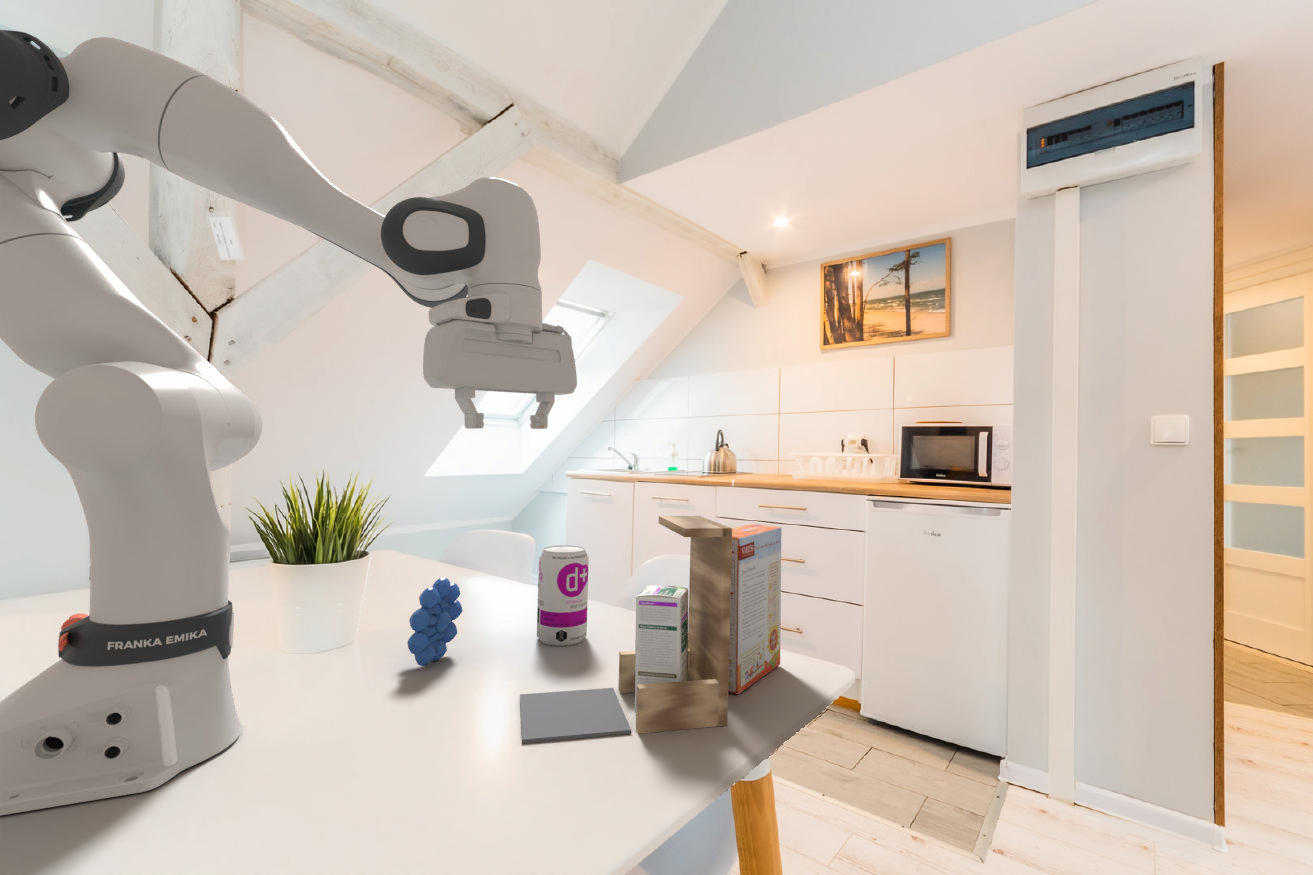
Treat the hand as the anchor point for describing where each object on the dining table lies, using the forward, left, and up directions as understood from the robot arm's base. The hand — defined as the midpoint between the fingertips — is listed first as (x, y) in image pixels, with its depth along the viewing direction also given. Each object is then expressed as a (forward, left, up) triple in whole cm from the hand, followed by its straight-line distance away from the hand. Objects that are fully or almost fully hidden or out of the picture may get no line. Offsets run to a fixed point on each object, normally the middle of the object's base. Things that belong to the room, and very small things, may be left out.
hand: (508, 428), depth 74 cm
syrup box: (+17, -10, -34) cm, 40 cm away
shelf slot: (+18, -10, -34) cm, 40 cm away
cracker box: (+33, -8, -34) cm, 48 cm away
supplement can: (+18, +20, -34) cm, 44 cm away
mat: (+7, -6, -34) cm, 35 cm away
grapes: (-3, +21, -34) cm, 40 cm away
